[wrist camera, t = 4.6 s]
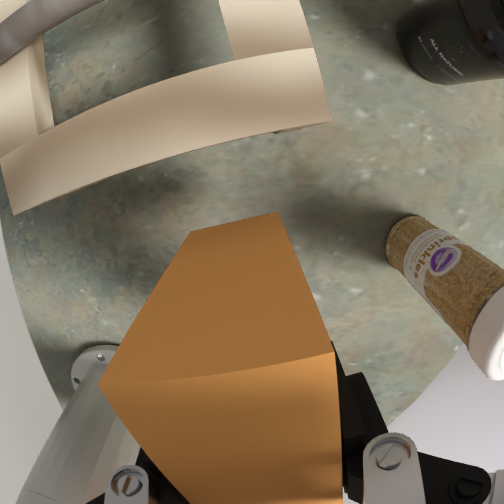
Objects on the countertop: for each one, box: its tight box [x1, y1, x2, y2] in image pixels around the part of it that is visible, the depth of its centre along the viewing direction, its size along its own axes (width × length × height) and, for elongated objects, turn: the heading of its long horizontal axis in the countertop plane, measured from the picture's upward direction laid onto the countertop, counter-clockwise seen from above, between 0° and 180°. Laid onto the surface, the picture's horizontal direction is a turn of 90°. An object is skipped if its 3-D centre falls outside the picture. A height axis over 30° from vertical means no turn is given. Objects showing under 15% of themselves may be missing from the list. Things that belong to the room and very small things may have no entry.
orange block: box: [98, 212, 343, 504], centre depth 11 cm, size 9×4×10 cm, turn 13°
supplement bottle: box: [397, 0, 504, 85], centre depth 11 cm, size 7×7×12 cm
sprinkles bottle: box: [386, 216, 504, 381], centre depth 15 cm, size 5×5×13 cm
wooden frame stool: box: [0, 0, 332, 216], centre depth 12 cm, size 17×15×11 cm
